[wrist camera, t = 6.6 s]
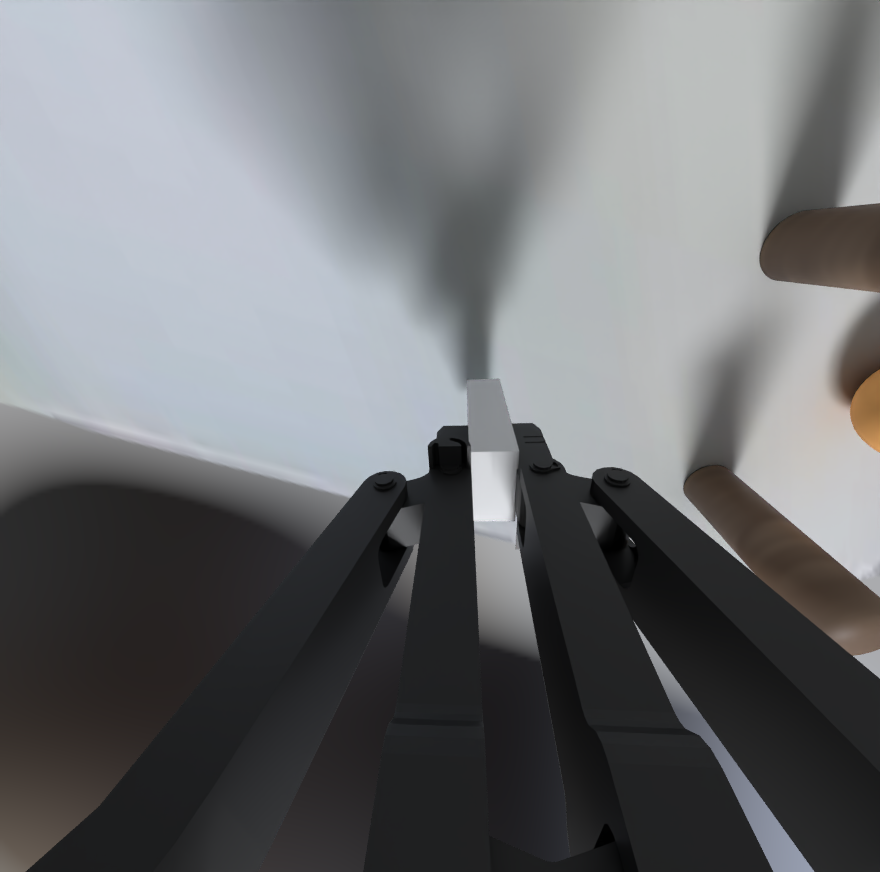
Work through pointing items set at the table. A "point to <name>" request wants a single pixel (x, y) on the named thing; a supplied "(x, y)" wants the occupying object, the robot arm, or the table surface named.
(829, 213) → the near post
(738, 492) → the far post
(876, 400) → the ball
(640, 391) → the table surface
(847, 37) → the table surface
